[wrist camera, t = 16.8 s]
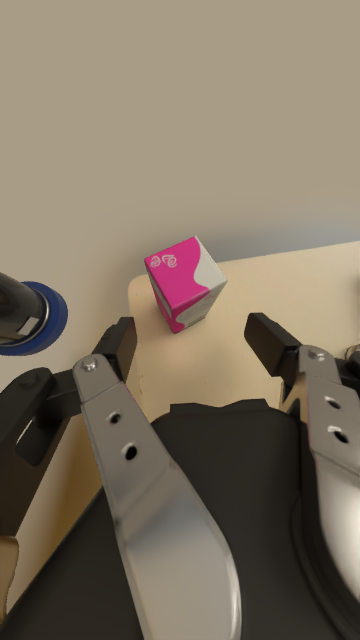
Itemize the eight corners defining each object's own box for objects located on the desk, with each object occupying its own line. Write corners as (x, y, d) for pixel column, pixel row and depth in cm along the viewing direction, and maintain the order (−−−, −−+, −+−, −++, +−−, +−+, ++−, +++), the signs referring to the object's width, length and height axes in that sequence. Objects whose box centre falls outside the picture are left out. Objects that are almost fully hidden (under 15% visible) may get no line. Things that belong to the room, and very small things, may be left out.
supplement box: (187, 288, 25) (197, 232, 14) (205, 318, 24) (232, 282, 13) (156, 303, 25) (142, 256, 13) (173, 335, 23) (173, 312, 12)
